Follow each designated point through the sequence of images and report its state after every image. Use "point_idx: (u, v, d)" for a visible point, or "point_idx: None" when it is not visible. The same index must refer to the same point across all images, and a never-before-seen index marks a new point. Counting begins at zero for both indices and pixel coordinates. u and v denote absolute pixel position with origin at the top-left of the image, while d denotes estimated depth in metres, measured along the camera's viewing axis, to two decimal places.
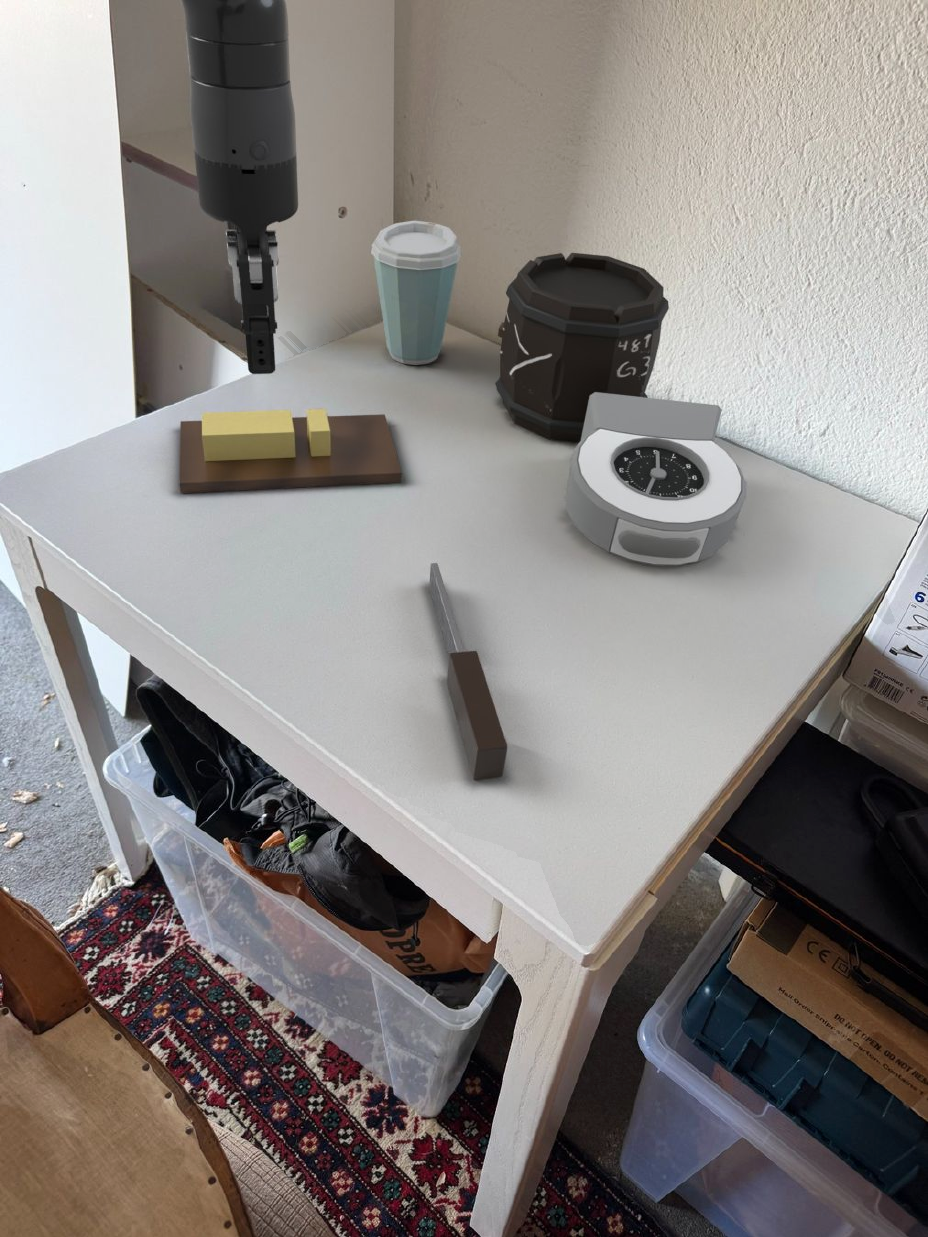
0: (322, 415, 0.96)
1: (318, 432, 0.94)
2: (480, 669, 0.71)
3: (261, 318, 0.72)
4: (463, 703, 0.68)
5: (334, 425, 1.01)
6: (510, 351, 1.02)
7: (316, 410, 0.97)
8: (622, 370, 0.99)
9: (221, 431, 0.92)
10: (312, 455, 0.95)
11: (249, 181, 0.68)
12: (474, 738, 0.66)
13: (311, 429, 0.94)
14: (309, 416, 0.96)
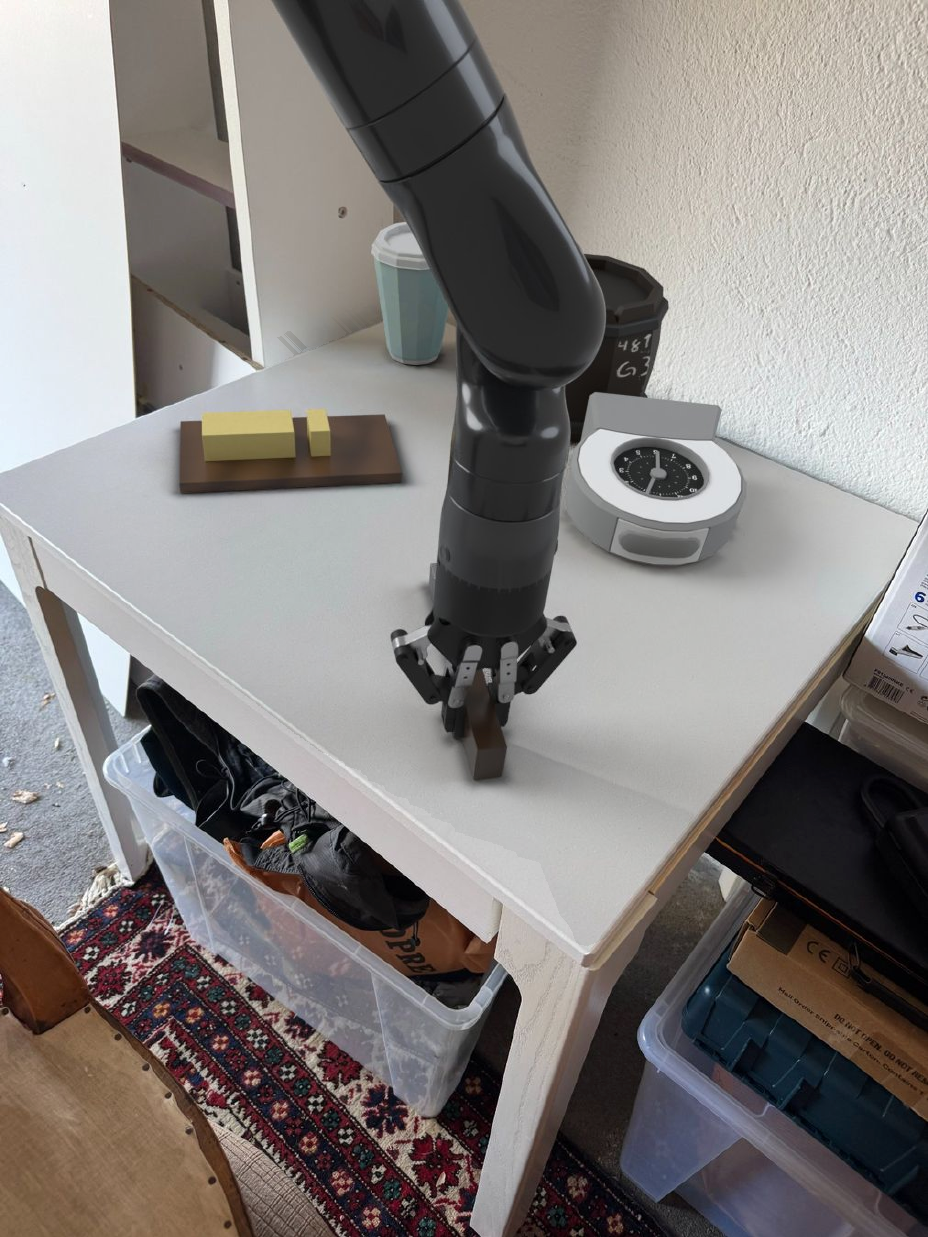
0: (322, 415, 0.96)
1: (318, 432, 0.94)
2: (480, 669, 0.71)
3: None
4: None
5: (334, 425, 1.01)
6: None
7: (316, 410, 0.97)
8: (622, 370, 0.99)
9: (221, 431, 0.92)
10: (312, 455, 0.95)
11: (438, 569, 0.60)
12: (474, 738, 0.66)
13: (311, 429, 0.94)
14: (309, 416, 0.96)
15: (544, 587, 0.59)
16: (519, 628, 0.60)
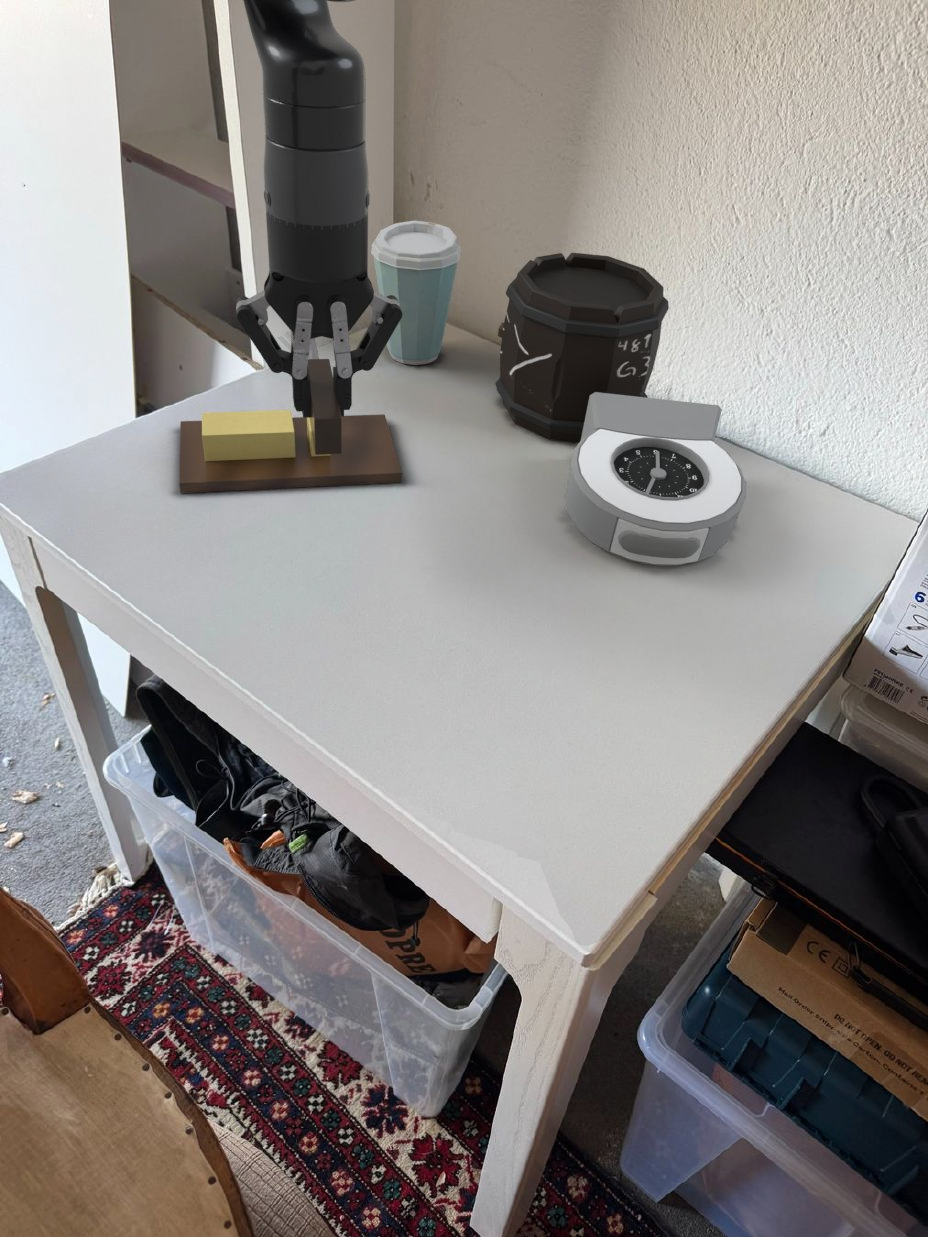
0: None
1: None
2: (329, 370, 0.80)
3: None
4: None
5: None
6: (510, 351, 1.02)
7: None
8: (622, 370, 0.99)
9: (221, 431, 0.92)
10: (312, 455, 0.95)
11: None
12: (313, 412, 0.75)
13: None
14: None
15: (358, 235, 0.68)
16: (337, 274, 0.69)
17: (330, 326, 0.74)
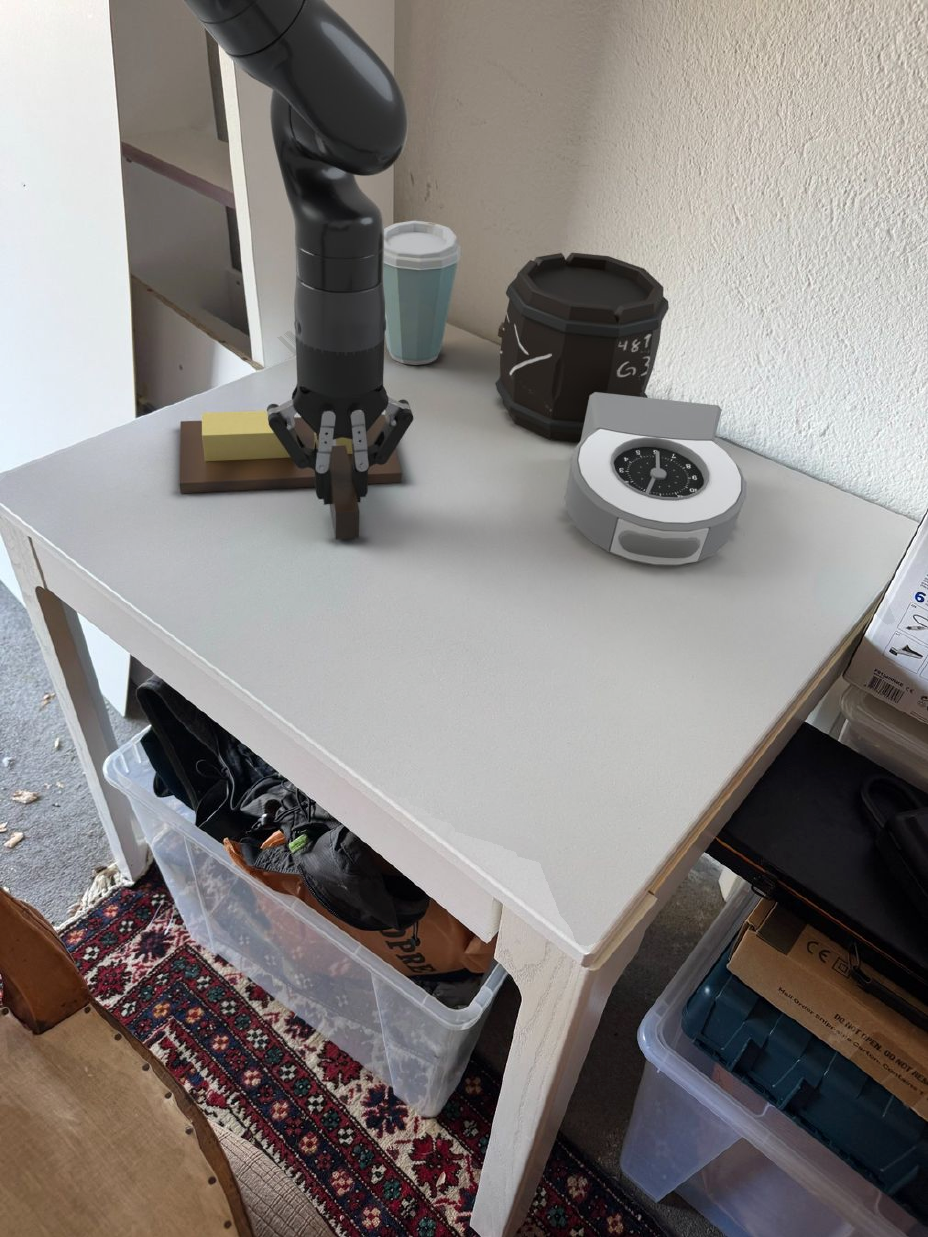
0: None
1: None
2: (346, 458, 0.90)
3: None
4: None
5: None
6: (510, 351, 1.02)
7: None
8: (622, 370, 0.99)
9: (221, 431, 0.92)
10: None
11: (296, 345, 0.78)
12: (334, 504, 0.85)
13: None
14: None
15: (376, 357, 0.78)
16: (358, 390, 0.78)
17: (350, 429, 0.83)
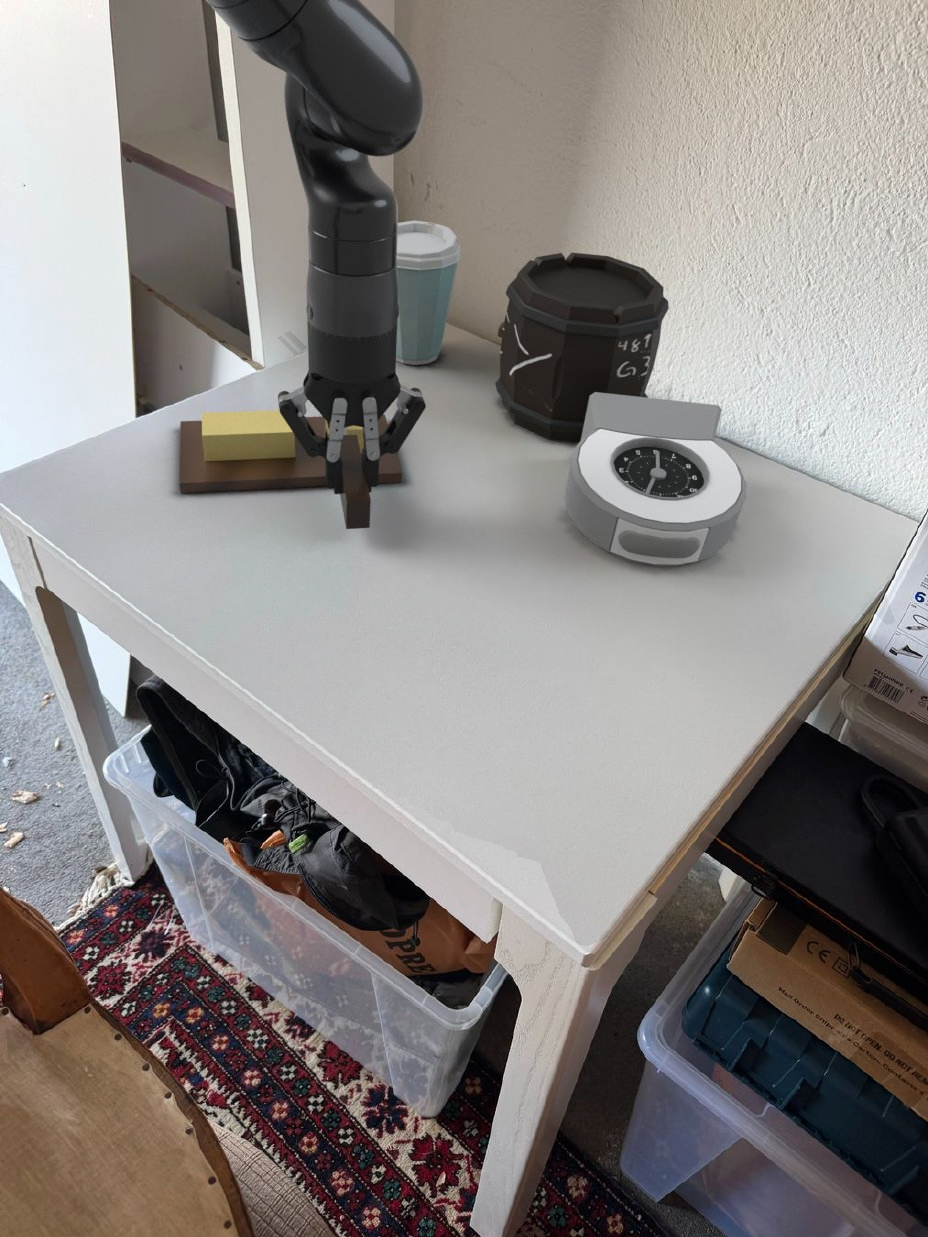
0: None
1: (352, 431, 0.95)
2: (357, 447, 0.89)
3: None
4: None
5: None
6: (510, 351, 1.02)
7: None
8: (622, 369, 0.99)
9: (221, 431, 0.92)
10: None
11: (308, 330, 0.77)
12: (345, 493, 0.84)
13: None
14: None
15: (389, 343, 0.77)
16: (370, 377, 0.77)
17: (361, 417, 0.83)
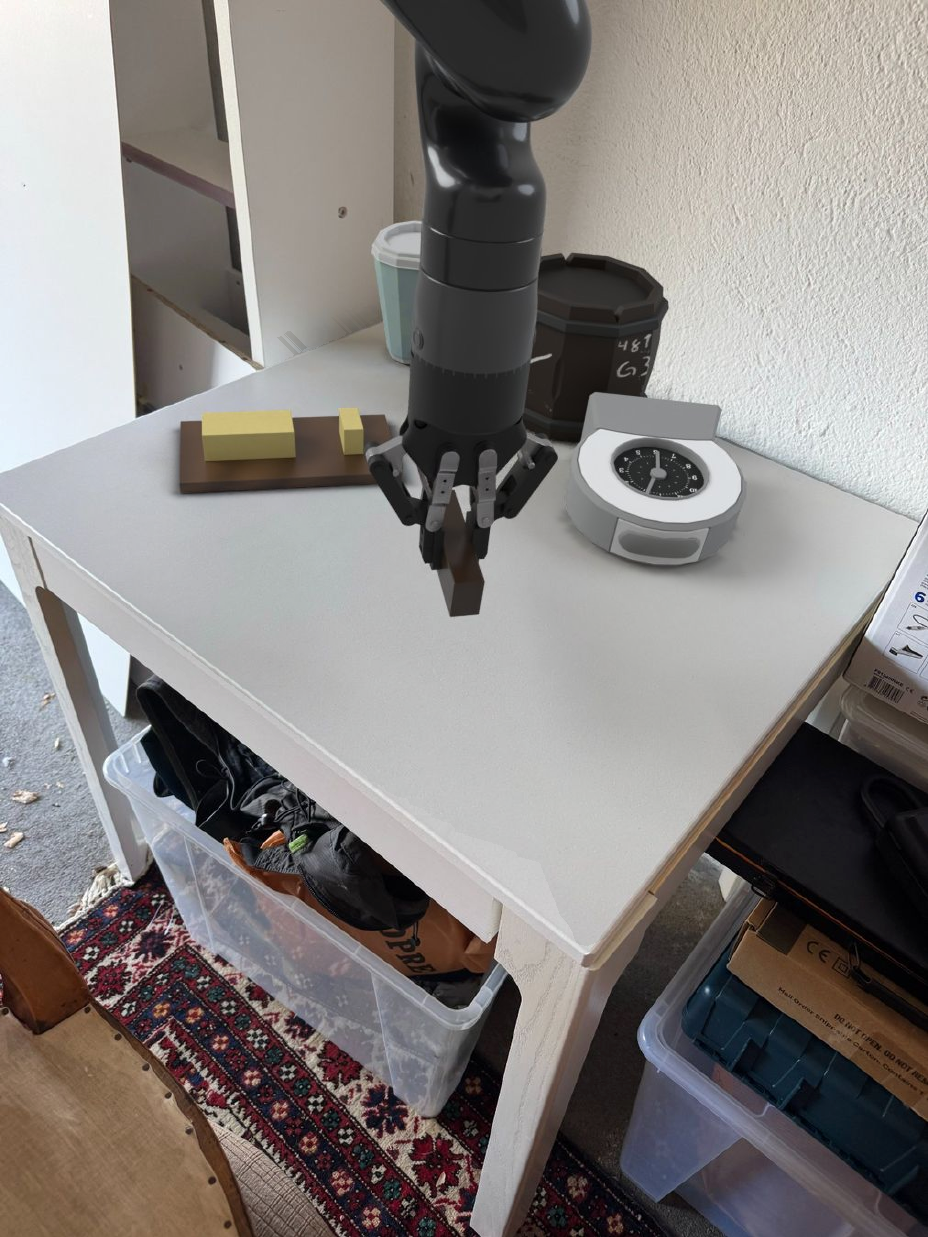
0: (355, 414, 0.97)
1: (352, 431, 0.95)
2: (458, 507, 0.69)
3: None
4: None
5: (334, 425, 1.01)
6: None
7: (348, 409, 0.98)
8: (622, 370, 0.99)
9: (221, 431, 0.92)
10: (345, 453, 0.96)
11: (412, 363, 0.57)
12: (451, 572, 0.64)
13: (345, 427, 0.95)
14: (342, 415, 0.97)
15: (522, 380, 0.57)
16: (497, 425, 0.57)
17: (474, 474, 0.62)
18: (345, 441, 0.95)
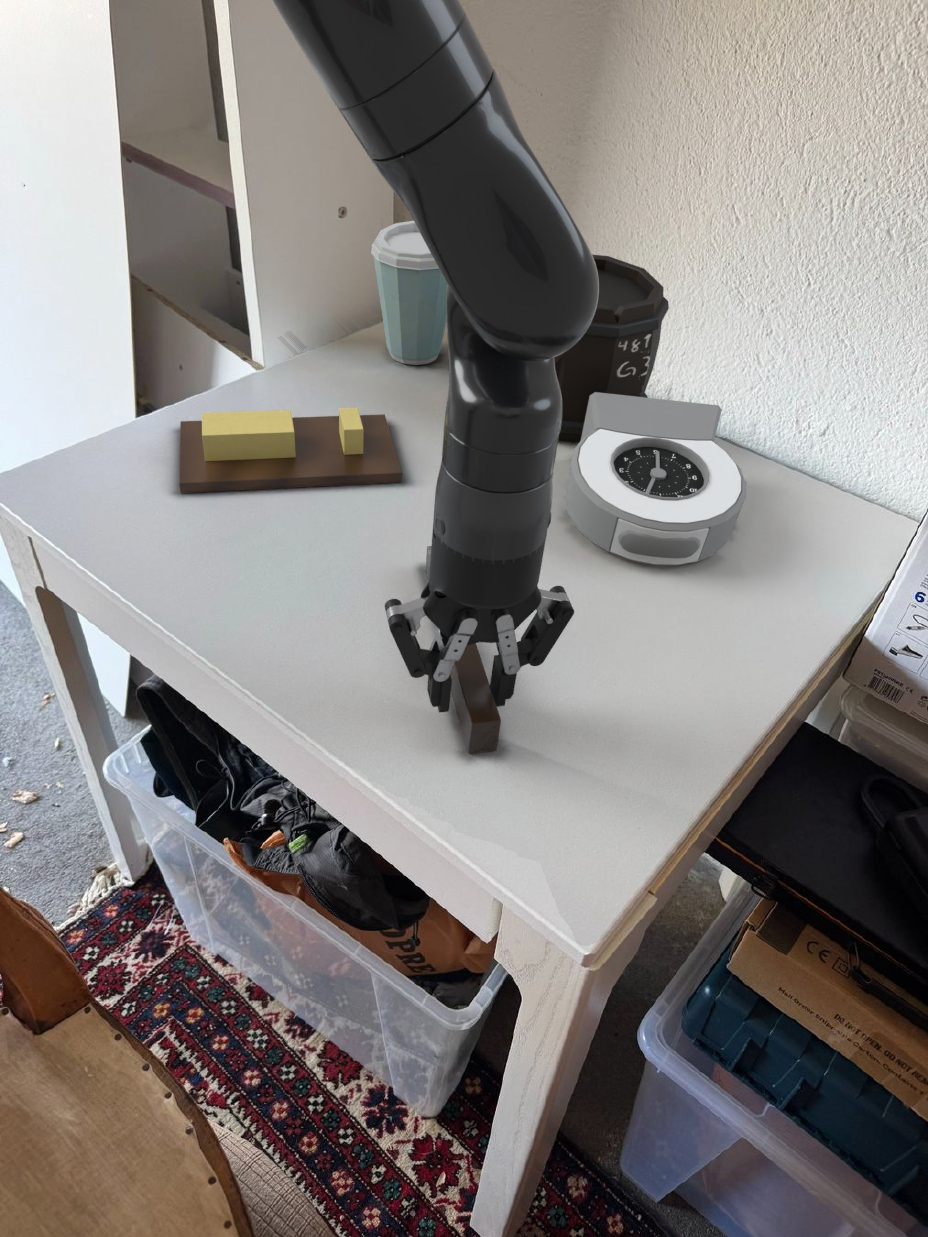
0: (355, 414, 0.97)
1: (352, 431, 0.95)
2: (475, 647, 0.73)
3: None
4: (458, 679, 0.70)
5: (334, 425, 1.01)
6: None
7: (348, 409, 0.98)
8: (622, 370, 0.99)
9: (221, 431, 0.92)
10: (345, 453, 0.96)
11: (433, 542, 0.61)
12: (469, 712, 0.68)
13: (345, 427, 0.95)
14: (342, 415, 0.97)
15: (538, 559, 0.60)
16: (513, 600, 0.61)
17: (491, 633, 0.66)
18: (345, 441, 0.95)
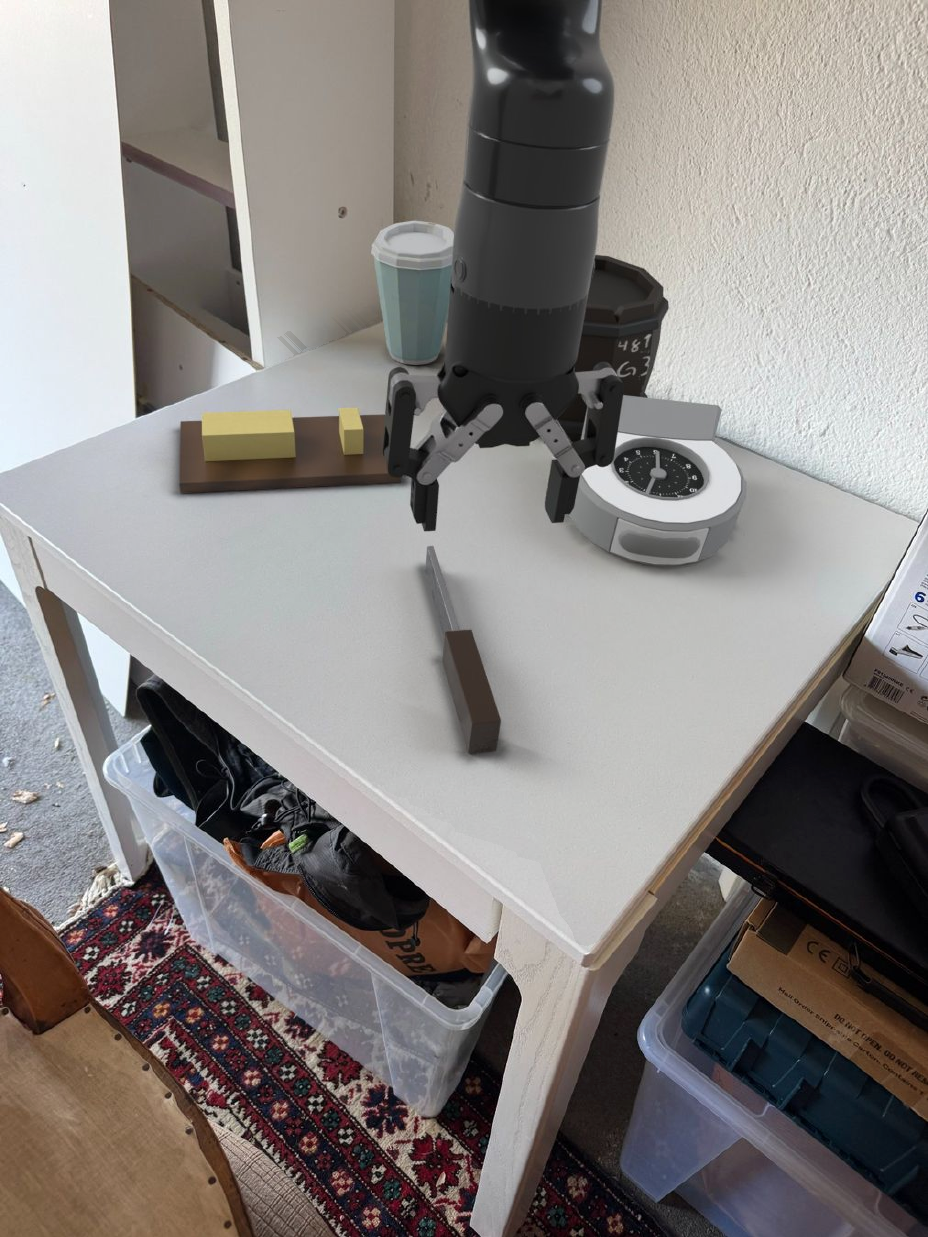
0: (355, 414, 0.97)
1: (352, 431, 0.95)
2: (475, 647, 0.73)
3: None
4: (458, 679, 0.70)
5: (334, 425, 1.01)
6: None
7: (348, 409, 0.98)
8: (622, 370, 0.99)
9: (221, 431, 0.92)
10: (345, 453, 0.96)
11: (451, 300, 0.50)
12: (469, 712, 0.68)
13: (345, 427, 0.95)
14: (342, 415, 0.97)
15: (578, 319, 0.49)
16: (548, 371, 0.50)
17: (518, 431, 0.55)
18: (345, 441, 0.95)
